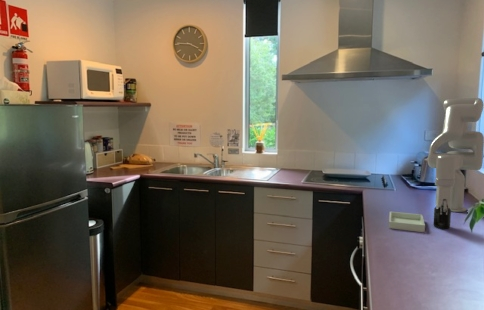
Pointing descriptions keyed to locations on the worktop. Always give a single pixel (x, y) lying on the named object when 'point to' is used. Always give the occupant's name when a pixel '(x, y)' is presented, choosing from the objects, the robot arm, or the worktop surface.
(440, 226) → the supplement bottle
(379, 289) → the worktop surface
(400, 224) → the tray
